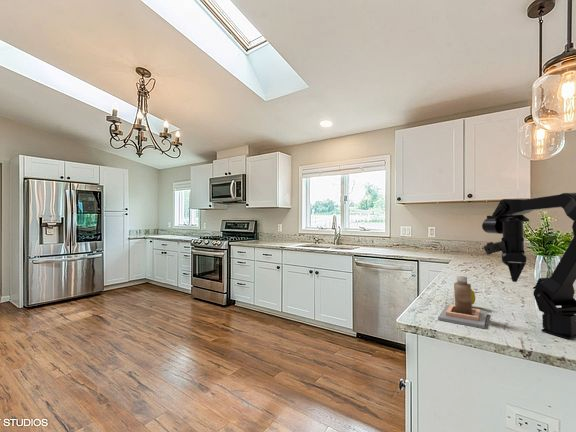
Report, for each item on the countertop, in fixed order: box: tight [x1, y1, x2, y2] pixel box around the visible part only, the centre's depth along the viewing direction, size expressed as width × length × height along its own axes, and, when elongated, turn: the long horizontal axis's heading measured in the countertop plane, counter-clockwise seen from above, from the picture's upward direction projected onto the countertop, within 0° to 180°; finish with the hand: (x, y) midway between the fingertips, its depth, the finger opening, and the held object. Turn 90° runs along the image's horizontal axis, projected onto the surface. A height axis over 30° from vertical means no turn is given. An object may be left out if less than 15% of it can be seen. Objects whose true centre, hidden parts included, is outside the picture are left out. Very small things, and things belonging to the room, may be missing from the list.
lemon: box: [471, 288, 476, 305], centre depth 108 cm, size 6×6×8 cm
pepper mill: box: [453, 275, 473, 315], centre depth 98 cm, size 5×5×13 cm
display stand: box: [437, 304, 488, 329], centre depth 97 cm, size 13×16×2 cm
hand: (514, 279), depth 97 cm, fingers open, 9 cm apart
